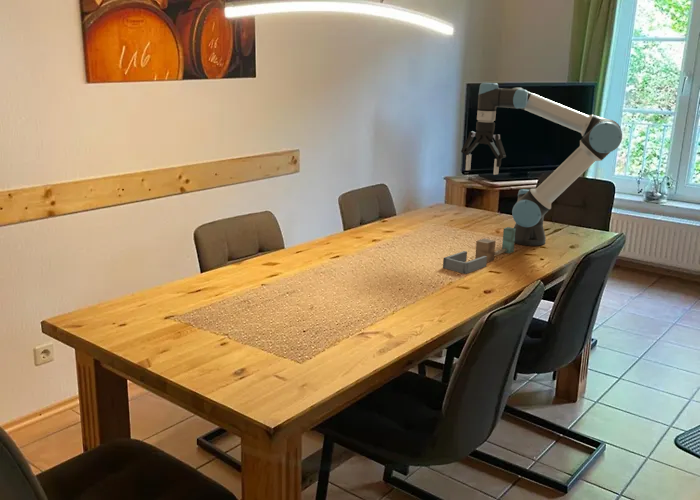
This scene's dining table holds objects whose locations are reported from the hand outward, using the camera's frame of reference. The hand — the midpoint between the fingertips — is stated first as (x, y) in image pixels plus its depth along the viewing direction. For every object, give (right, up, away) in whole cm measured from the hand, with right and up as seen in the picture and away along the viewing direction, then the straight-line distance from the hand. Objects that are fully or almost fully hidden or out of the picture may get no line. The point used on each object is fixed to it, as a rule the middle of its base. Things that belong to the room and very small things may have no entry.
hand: (481, 172), depth 291 cm
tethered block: (+4, -35, -10) cm, 37 cm away
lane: (-11, -39, -25) cm, 48 cm away
